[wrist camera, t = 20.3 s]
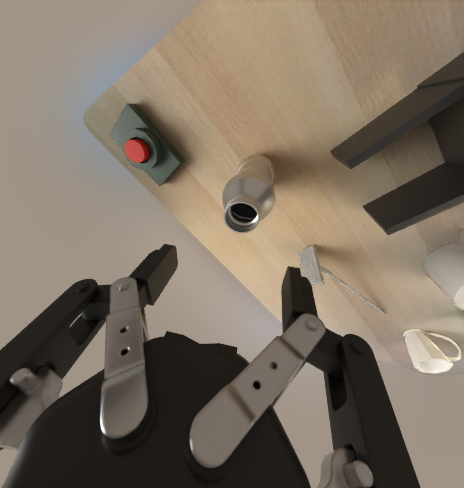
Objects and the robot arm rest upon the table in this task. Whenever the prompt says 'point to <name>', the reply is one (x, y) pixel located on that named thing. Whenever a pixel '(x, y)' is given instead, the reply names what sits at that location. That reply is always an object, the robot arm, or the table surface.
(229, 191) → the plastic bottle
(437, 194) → the dark box with flaps
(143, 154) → the stop button
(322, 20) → the table surface
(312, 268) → the brush
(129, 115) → the control pad
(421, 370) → the cup
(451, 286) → the toilet tissue
